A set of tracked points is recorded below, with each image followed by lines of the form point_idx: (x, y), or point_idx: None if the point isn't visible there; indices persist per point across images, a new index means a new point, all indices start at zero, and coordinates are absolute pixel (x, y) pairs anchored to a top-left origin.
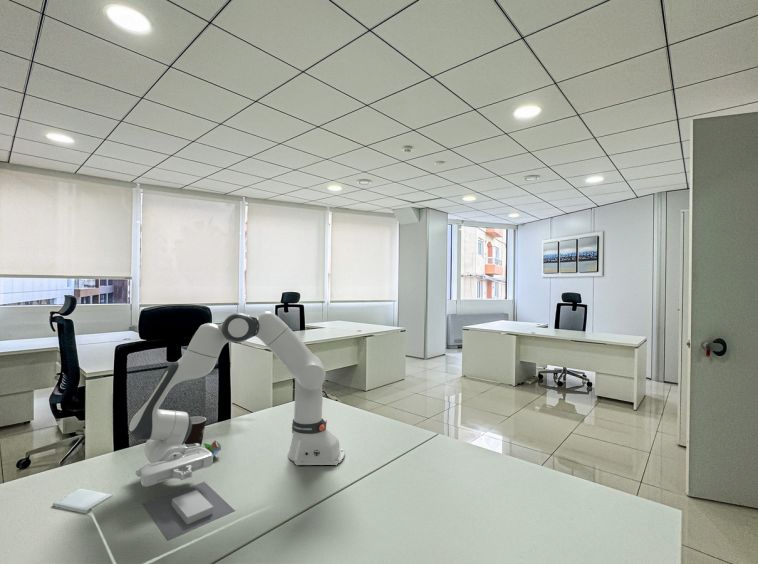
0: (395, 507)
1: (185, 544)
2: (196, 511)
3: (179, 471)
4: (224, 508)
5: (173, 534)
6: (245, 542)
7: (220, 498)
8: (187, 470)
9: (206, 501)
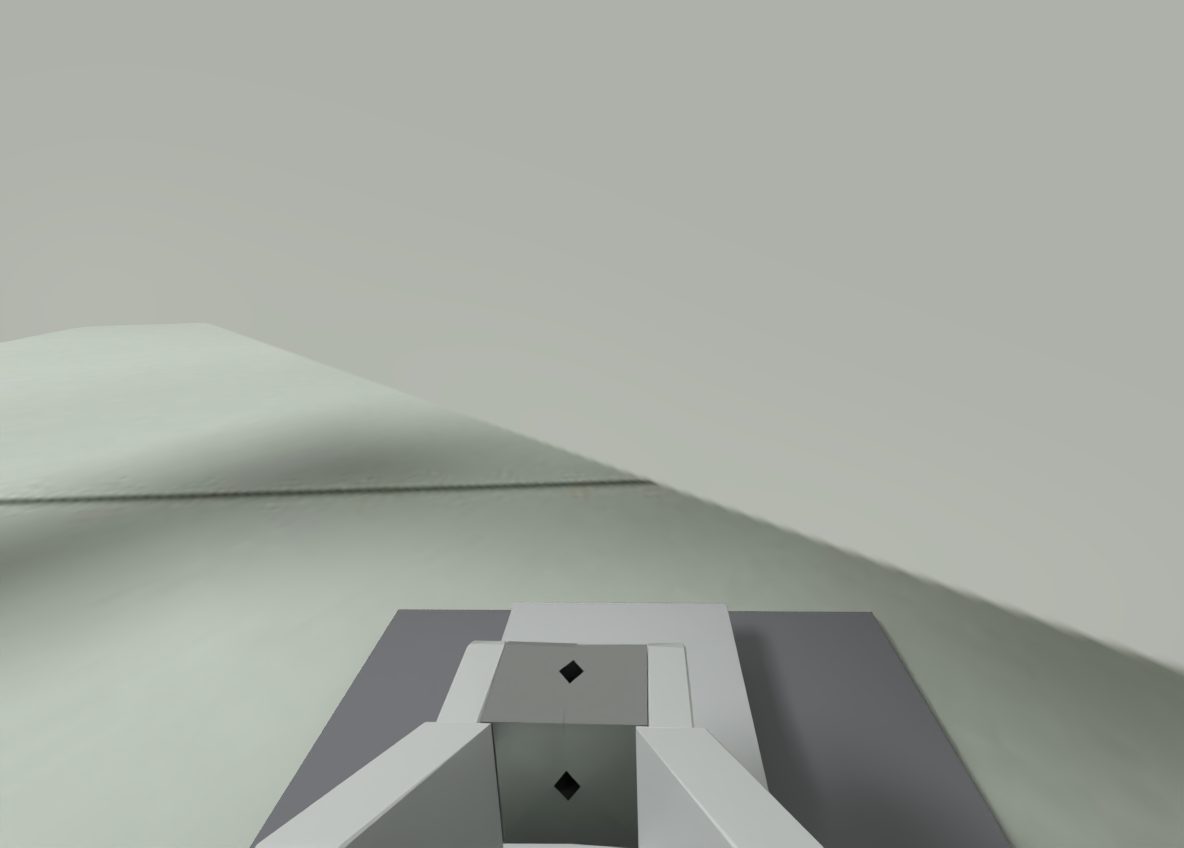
0: (128, 416)
1: (768, 576)
2: (643, 619)
3: (687, 769)
4: (414, 664)
5: (831, 634)
6: (544, 489)
7: (291, 803)
8: (508, 710)
9: None
